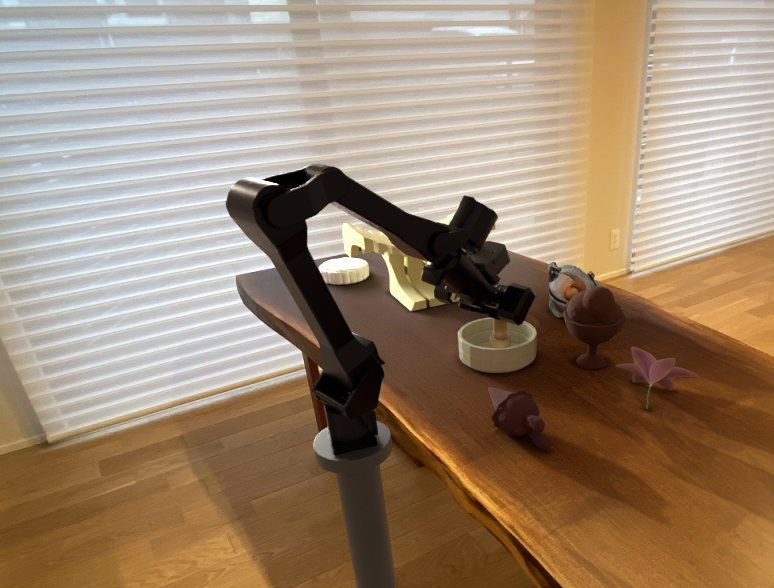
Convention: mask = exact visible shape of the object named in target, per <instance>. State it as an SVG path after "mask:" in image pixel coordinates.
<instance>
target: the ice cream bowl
mask: <svg viewBox="0 0 774 588" xmlns="http://www.w3.org/2000/svg"><path fill="white" fill-rule="evenodd" d="M563 314H564V317H563V320H564V322H565V325H566V328H567V330H568V332H569V334H570V335H571V336H572V337H573V338H574V339H576V340H577V341H580V342H582V343H584V344H586V345H587V350H586V351H587V352H585V353H582V354H580V355H579V356H578V357H577V358H576V360H575V361H576V364H577V366H579V367H581V368H583V369H588V370H589V369H590V370H597V369H603V368H604V367H605V366H606V365H607V360H606V358H605V357H604V356H603V355H601V354H599V353H598V346H599V345H601V344H605V343H607V342H609V341H611V340H612V339H613V338H614V337H616V335H617V334H619V333H620V332H621V331H622V330H623V327H625V323H626V320H627V316H626V315H625V313H624V312H623V309H622V306H621V305H620V304H619V303H618V302H616V301H615V296H614V294H613V292H612V291H611V290H610V289H609V288H607V287H605V286H602V285H600V286H594V287H591V288H590V290H588V291H583V292H579V293H578V294H576V295H575V296H574V297H573V298H572V299H571V300H570V302H569V303H568V307H567V310H565V311H564V312H563Z"/></svg>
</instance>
